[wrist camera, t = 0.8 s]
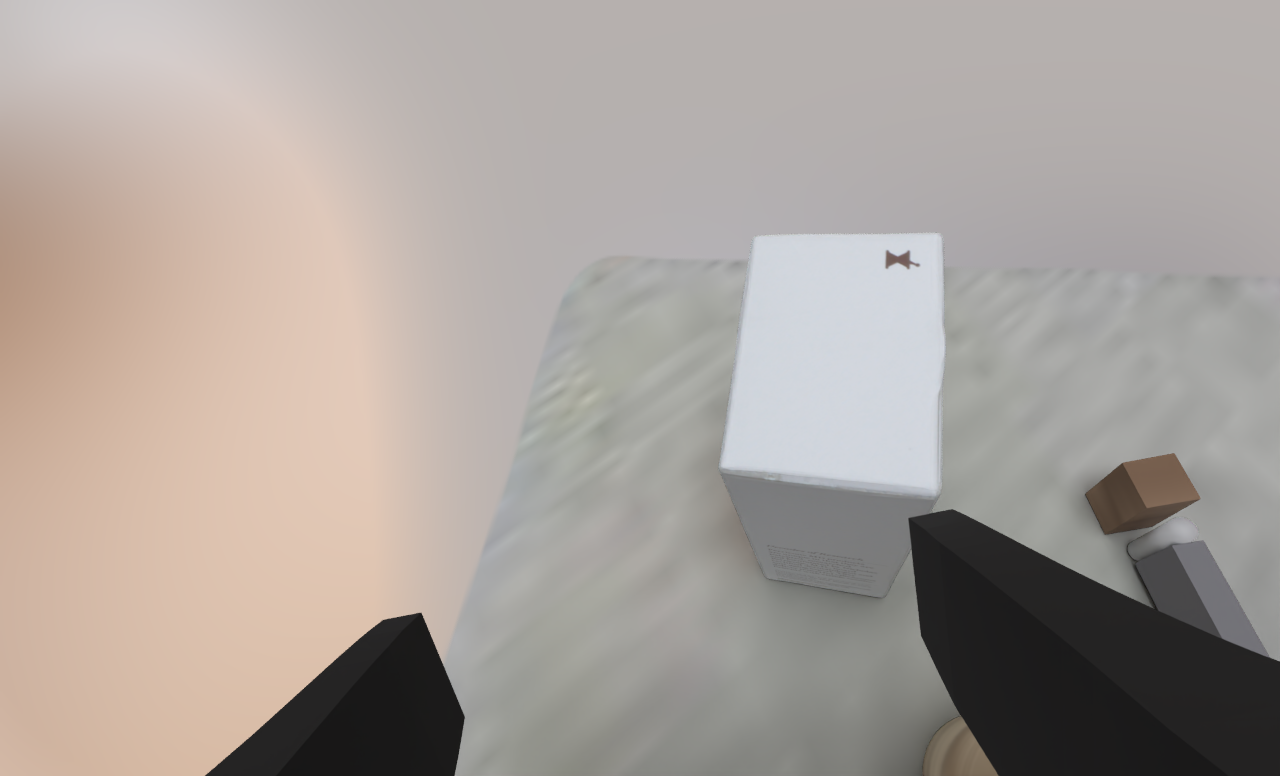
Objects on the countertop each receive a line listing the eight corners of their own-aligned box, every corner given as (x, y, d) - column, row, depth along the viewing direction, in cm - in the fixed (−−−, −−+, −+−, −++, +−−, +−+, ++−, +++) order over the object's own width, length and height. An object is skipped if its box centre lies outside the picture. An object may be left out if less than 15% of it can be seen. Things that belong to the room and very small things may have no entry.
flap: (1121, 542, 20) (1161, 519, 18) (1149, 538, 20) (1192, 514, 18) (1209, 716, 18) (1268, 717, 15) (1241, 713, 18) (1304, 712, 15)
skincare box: (777, 428, 25) (750, 225, 15) (893, 438, 24) (952, 223, 13) (759, 584, 22) (710, 471, 12) (887, 605, 21) (954, 498, 11)
